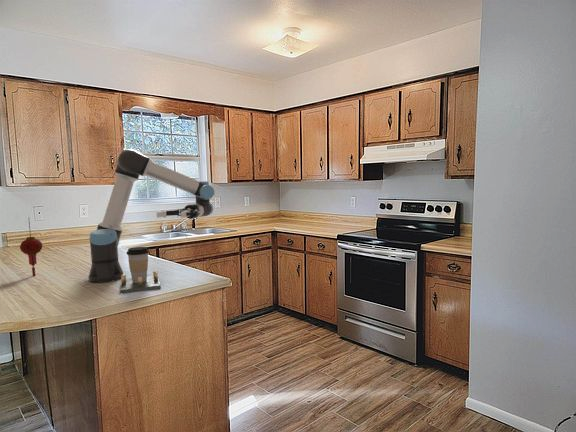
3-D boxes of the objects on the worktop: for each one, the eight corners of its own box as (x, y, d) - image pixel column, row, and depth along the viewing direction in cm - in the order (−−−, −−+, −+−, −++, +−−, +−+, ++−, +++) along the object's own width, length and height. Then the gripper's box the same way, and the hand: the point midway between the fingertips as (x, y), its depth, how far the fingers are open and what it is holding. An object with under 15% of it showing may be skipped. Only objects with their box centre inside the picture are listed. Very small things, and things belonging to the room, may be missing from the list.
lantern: (19, 278, 188) (13, 218, 185) (28, 274, 197) (22, 216, 194) (40, 277, 189) (34, 217, 187) (48, 273, 199) (43, 216, 196)
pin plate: (121, 282, 175) (120, 270, 175) (157, 278, 181) (157, 266, 181) (119, 293, 157) (119, 280, 156) (160, 288, 163) (159, 276, 162)
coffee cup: (149, 283, 167) (148, 249, 165) (126, 285, 164) (124, 251, 163) (151, 277, 176) (149, 246, 174) (129, 279, 173) (127, 247, 172)
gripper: (214, 218, 198) (192, 222, 178) (173, 218, 206) (148, 222, 186) (214, 203, 197) (191, 206, 177) (173, 204, 205) (147, 207, 185)
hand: (169, 214), depth 182 cm, fingers open, 13 cm apart
